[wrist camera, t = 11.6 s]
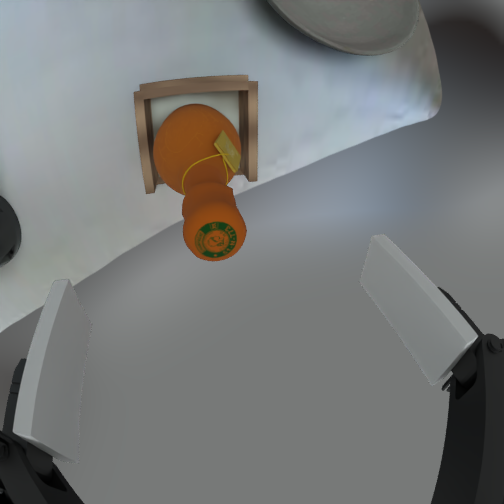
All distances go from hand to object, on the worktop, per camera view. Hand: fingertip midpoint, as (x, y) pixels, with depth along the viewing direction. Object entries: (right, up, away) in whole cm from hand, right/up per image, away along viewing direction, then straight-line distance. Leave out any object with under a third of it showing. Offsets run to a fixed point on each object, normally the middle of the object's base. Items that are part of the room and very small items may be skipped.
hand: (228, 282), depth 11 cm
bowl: (+12, +43, +16) cm, 47 cm away
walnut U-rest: (-7, +20, +27) cm, 34 cm away
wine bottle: (-8, +19, +27) cm, 33 cm away
